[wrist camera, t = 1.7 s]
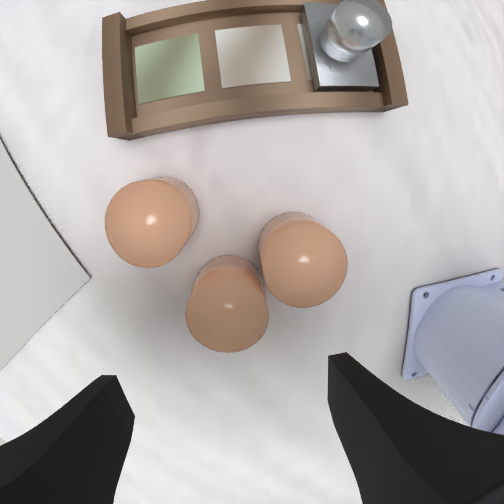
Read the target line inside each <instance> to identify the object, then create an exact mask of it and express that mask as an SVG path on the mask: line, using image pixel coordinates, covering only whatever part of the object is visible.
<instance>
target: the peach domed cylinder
mask: <svg viewBox="0 0 504 504" xmlns="http://www.w3.org/2000/svg"><path fill="white" fill-rule="evenodd" d="M198 218H199V206H198V202H197V199H196V197H195V195H194V193H193V192H192V190H191V189H190V188H189V187H188V186H187V185H186V184H185V183H183V182H182V181H180V180H178V179H175V178H171V177H159V178H153V179H148V180H143V181H137V182H133V183H130V184H128V185H126V186H124V187H123V188H121V189H120V190H119V191H118V192H117V193H116V194H115V195H114V196H113V198H112V199H111V201H110V203H109V205H108V208H107V210H106V215H105V230H106V235H107V238H108V240H109V243H110V245H111V246H112V248H113V249H114V251H115V252H116V253H117V254H118V255H119V256H120V257H121V258H122V259H123V260H125V261H126V262H128V263H130V264H132V265H134V266H137V267H142V268H154V267H158V266H161V265H164V264H166V263H168V262H169V261H171V260H172V259H173V258H174V257H175V256H176V255H177V254H178V253H179V252H180V250H181V249H182V247H183V246H184V244H185V243H186V241H187V240H188V238H189V237H190V235H191V234H192V233H193V231H194V229H195V227H196V225H197V222H198Z"/></svg>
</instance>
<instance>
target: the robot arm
mask: <svg viewBox="0 0 504 504" xmlns="http://www.w3.org/2000/svg"><path fill="white" fill-rule="evenodd" d="M502 280H503V270H502V269H500V268H498V269H494V270H490V271H487V272H483V273H479V274H475V275H471V276H467V277H463V278H459V279H455V280H451V281H447V282H442V283H438V284H434V285H429V286H425V287H420V288H417V289H416V290H414V292H413V294H412V303H411V313H410V322H409V331H408V339H407V346H406V353H405V359H404V365H403V371H402V377H403V379H404V380H410V379H413V378H416V377H419V376H422V375H425V374H428V373H429V375H430V376H431V377H432V379H433V380H434V381H435V382H436V384H437V385H438V386H439V387H440V389H441V390H442V391H443V393H444V394H445V395H446V396H447V398H448V399H449V400H450V402H451V403H452V404H453V406H454V407H455V408H456V410H457V411H458V412H459V414H460V415H461V416H462V418H463V419H464V420H465V422H466V423H467V424H468V426H466V425H463V424H460V423H457V422H455V421H452V420H449V419H447V418H444V417H442V416H440V415H437V414H435V413H433V412H431V411H429V410H427V409H425V408H423V407H421V406H419V405H418V404H416V403H414V402H412V401H411V400H409V399H407V398H406V397H404V396H403V395H401V394H399V393H398V392H397V391H395V390H394V389H392V388H391V387H389V386H388V385H387V384H385V383H384V382H383V381H381V380H380V379H379V378H377V377H376V376H375V375H373V374H372V373H371V372H370V371H368V370H367V369H366V368H365V367H364V366H362V365H361V364H360V363H359V362H358V361H356V360H355V359H354V358H353V357H352V356H350V355H349V354H348V353H347V352H345V353H340V354H335V355H330V356H328V403H329V407H330V411H331V415H332V419H333V422H334V426H335V428H336V431H337V433H338V436H339V438H340V441H341V443H342V445H343V448H344V450H345V453H346V455H347V458H348V460H349V463H350V465H351V467H352V470H353V472H354V475H355V478H356V481H357V484H358V487H359V491H360V495H361V499H362V502H363V504H504V282H503V281H502ZM425 292H426V295H425V296H423V295H424V293H425ZM413 372H414V373H413ZM134 419H135V415H134V413H133V411H132V409H131V407H130V405H129V403H128V401H127V399H126V396H125V394H124V392H123V390H122V388H121V385H120V383H119V381H118V379H117V376H116V375H101V376H100V377H98V378H97V379H96V380H94V381H93V382H92V383H90V384H89V385H88V386H87V387H86V388H84V389H83V390H82V391H81V392H79V393H78V394H77V395H76V396H75V397H73V398H72V399H71V400H70V401H69V402H67V403H66V404H65V405H64V406H63V407H61V408H60V409H59V410H57V411H56V412H55V413H53V414H52V415H51V416H49V417H48V418H47V419H46V420H44V421H43V422H42V423H40V424H39V425H37V426H36V427H34V428H33V429H31V430H29V431H28V432H26V433H24V434H23V435H21V436H19V437H17V438H16V439H13V440H11V441H9V442H7V443H5V444H3V445H1V446H0V504H113V502H114V495H115V491H116V487H117V484H118V480H119V477H120V474H121V471H122V467H123V464H124V461H125V458H126V455H127V451H128V448H129V445H130V442H131V437H132V432H133V425H134Z"/></svg>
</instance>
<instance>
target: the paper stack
mask: <svg viewBox="0 0 504 504" xmlns="http://www.w3.org/2000/svg"><path fill="white" fill-rule="evenodd" d="M89 279H90V277H89V276H88V274H87V273H86V272H85V271H84V269H83V268H82V267H81V265H80V264H79V263H78V262H77V260H76V259H75V258H74V256H73V255H72V254H71V252H70V251H69V249H68V248H67V247H66V245H65V244H64V243H63V241H62V240H61V238H60V237H59V236H58V234H57V233H56V231H55V230H54V228H53V227H52V225H51V224H50V222H49V221H48V220H47V218H46V217H45V215H44V213H43V212H42V210H41V209H40V207H39V206H38V204H37V203H36V201H35V200H34V198H33V196H32V195H31V193H30V191H29V190H28V188H27V187H26V185H25V183H24V182H23V180H22V178H21V176H20V175H19V173H18V171H17V169H16V168H15V166H14V164H13V162H12V161H11V159H10V157H9V155H8V153H7V151H6V149H5V147H4V146H3V144H2V142H1V140H0V371H1V370H2V369H3V368H4V367H5V365H6V364H7V363H8V362H9V361H10V360H11V359H12V358H13V356H14V355H15V354H16V353H17V352H18V351H19V350H20V349H21V348H22V347H23V345H24V344H25V343H26V342H27V341H28V340H29V339H30V338H31V337H32V336H33V335H34V334H35V333H36V332H37V331H38V330H39V329H40V327H41V326H42V325H43V324H44V323H45V322H46V321H47V320H48V319H49V318H50V317H51V316H52V315H53V314H54V313H55V312H56V311H57V310H58V309H59V308H60V307H61V306H62V305H63V304H64V303H65V302H66V301H67V300H68V299H69V298H70V297H71V296H72V295H74V294H75V293H76V292H77V291H78V290H79V289H80V288H81V287H82V286H83V285H84V284H85V283H86V282H87V281H88V280H89Z"/></svg>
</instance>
